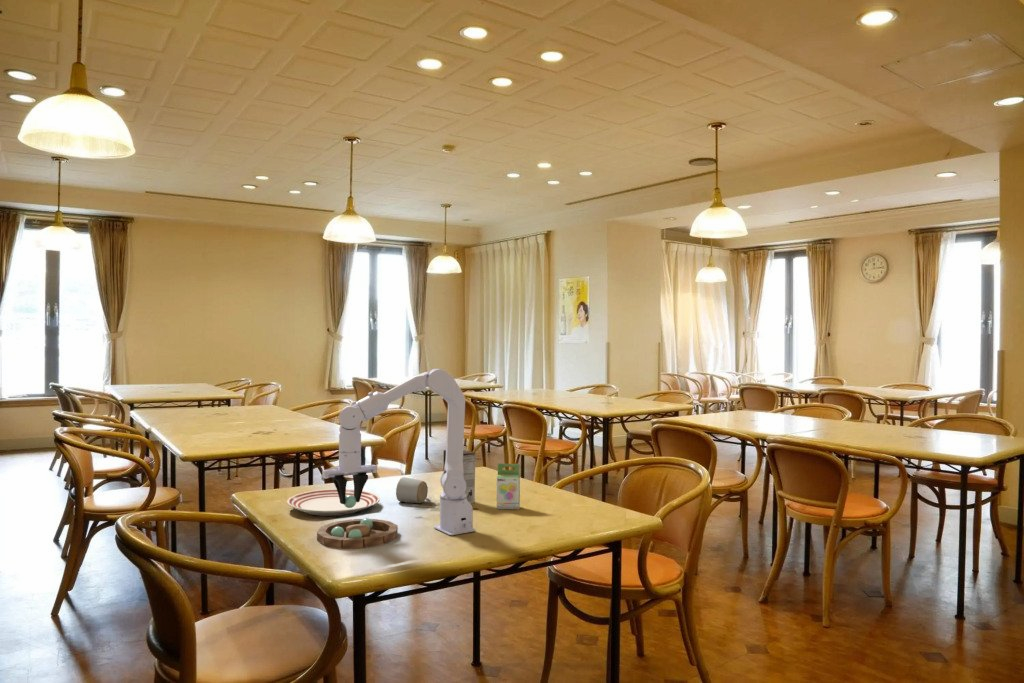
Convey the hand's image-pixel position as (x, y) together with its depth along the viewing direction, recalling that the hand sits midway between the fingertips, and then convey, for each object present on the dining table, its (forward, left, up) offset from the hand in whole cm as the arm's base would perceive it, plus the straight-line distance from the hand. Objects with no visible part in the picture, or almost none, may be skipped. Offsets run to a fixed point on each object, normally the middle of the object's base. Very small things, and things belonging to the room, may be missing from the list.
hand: (349, 502), depth 188 cm
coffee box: (+15, -43, -9) cm, 47 cm away
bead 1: (0, 0, -1) cm, 1 cm away
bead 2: (-2, -4, -8) cm, 9 cm away
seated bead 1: (-6, +5, -8) cm, 11 cm away
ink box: (-1, -51, -9) cm, 52 cm away
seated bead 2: (-10, +3, -8) cm, 13 cm away
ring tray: (-6, 0, -8) cm, 10 cm away
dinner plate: (+29, -7, -9) cm, 32 cm away
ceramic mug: (+24, -31, -9) cm, 40 cm away
